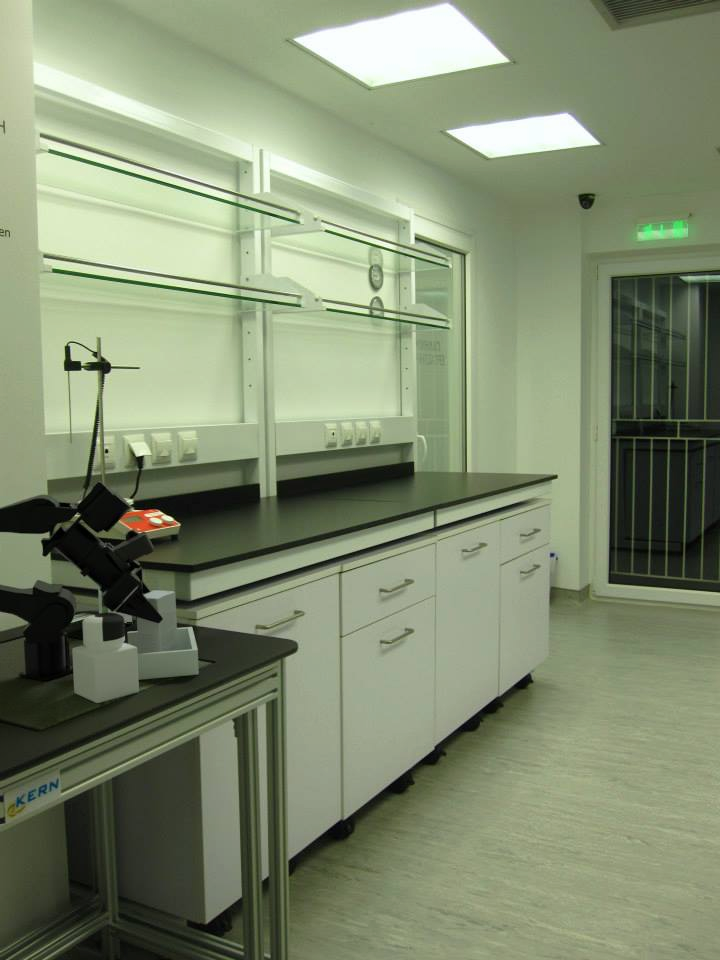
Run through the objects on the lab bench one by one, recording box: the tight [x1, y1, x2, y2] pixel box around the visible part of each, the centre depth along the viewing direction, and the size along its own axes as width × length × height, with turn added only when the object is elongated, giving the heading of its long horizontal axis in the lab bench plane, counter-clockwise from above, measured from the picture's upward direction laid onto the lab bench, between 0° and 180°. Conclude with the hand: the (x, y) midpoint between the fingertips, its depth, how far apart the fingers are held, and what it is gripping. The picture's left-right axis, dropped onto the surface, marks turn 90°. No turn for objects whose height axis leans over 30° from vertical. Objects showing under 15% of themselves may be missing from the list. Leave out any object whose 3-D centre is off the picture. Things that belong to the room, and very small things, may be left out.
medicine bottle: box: [71, 612, 140, 704], centre depth 136 cm, size 7×7×12 cm
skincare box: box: [136, 589, 178, 654], centre depth 150 cm, size 6×4×12 cm
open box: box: [127, 626, 200, 681], centre depth 151 cm, size 11×16×4 cm
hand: (160, 614), depth 150 cm, fingers open, 9 cm apart
